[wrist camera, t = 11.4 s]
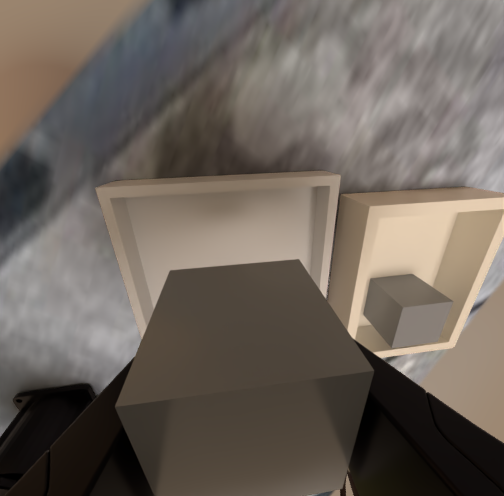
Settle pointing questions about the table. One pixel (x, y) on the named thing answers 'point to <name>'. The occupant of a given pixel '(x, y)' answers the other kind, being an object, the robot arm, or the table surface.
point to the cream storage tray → (414, 253)
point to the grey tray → (217, 226)
